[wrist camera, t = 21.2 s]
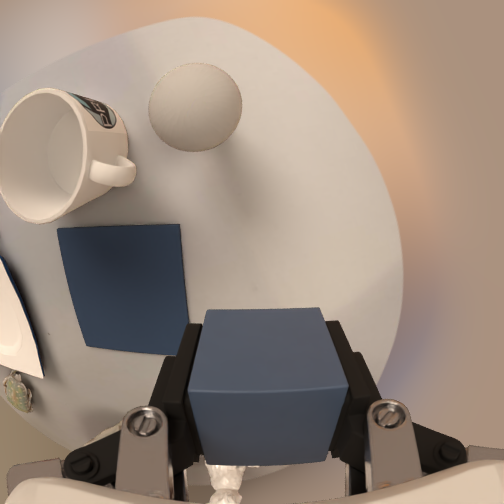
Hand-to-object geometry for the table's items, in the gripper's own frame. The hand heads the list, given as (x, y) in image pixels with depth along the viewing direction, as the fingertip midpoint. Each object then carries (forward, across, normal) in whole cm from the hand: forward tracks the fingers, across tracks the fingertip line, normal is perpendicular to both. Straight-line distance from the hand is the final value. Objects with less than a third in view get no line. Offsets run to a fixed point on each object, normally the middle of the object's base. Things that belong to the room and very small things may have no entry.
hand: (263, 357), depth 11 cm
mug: (+17, +15, -8) cm, 24 cm away
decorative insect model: (+18, +42, +27) cm, 53 cm away
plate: (+17, +39, +10) cm, 44 cm away
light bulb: (+17, +4, -10) cm, 21 cm away
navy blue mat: (+17, +14, +7) cm, 23 cm away
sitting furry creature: (+18, +4, +37) cm, 41 cm away
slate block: (0, 0, 0) cm, 0 cm away
